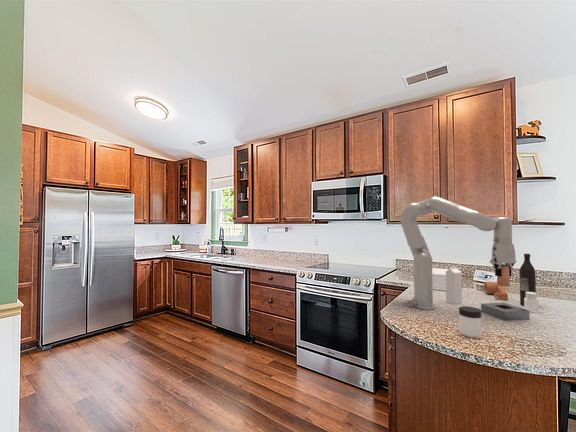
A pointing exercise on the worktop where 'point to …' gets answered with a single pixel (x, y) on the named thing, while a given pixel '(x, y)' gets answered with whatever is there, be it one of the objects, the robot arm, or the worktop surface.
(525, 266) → the wine bottle
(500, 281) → the orange grey-topped cylinder
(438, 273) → the plate stack
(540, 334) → the worktop surface
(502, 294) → the crank
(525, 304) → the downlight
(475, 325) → the jar
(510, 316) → the bore housing
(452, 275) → the milk
